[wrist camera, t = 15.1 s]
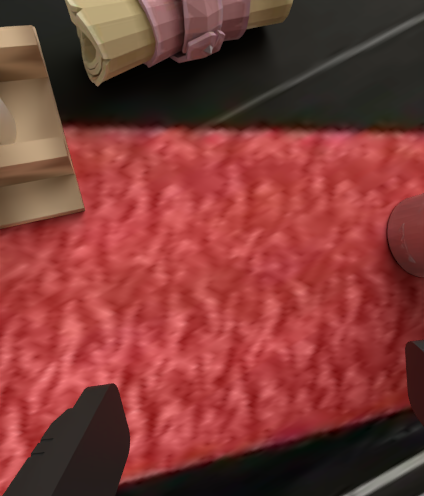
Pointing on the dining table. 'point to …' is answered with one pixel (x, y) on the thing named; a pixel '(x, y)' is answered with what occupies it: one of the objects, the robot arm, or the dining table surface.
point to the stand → (32, 137)
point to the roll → (6, 125)
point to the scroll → (162, 29)
